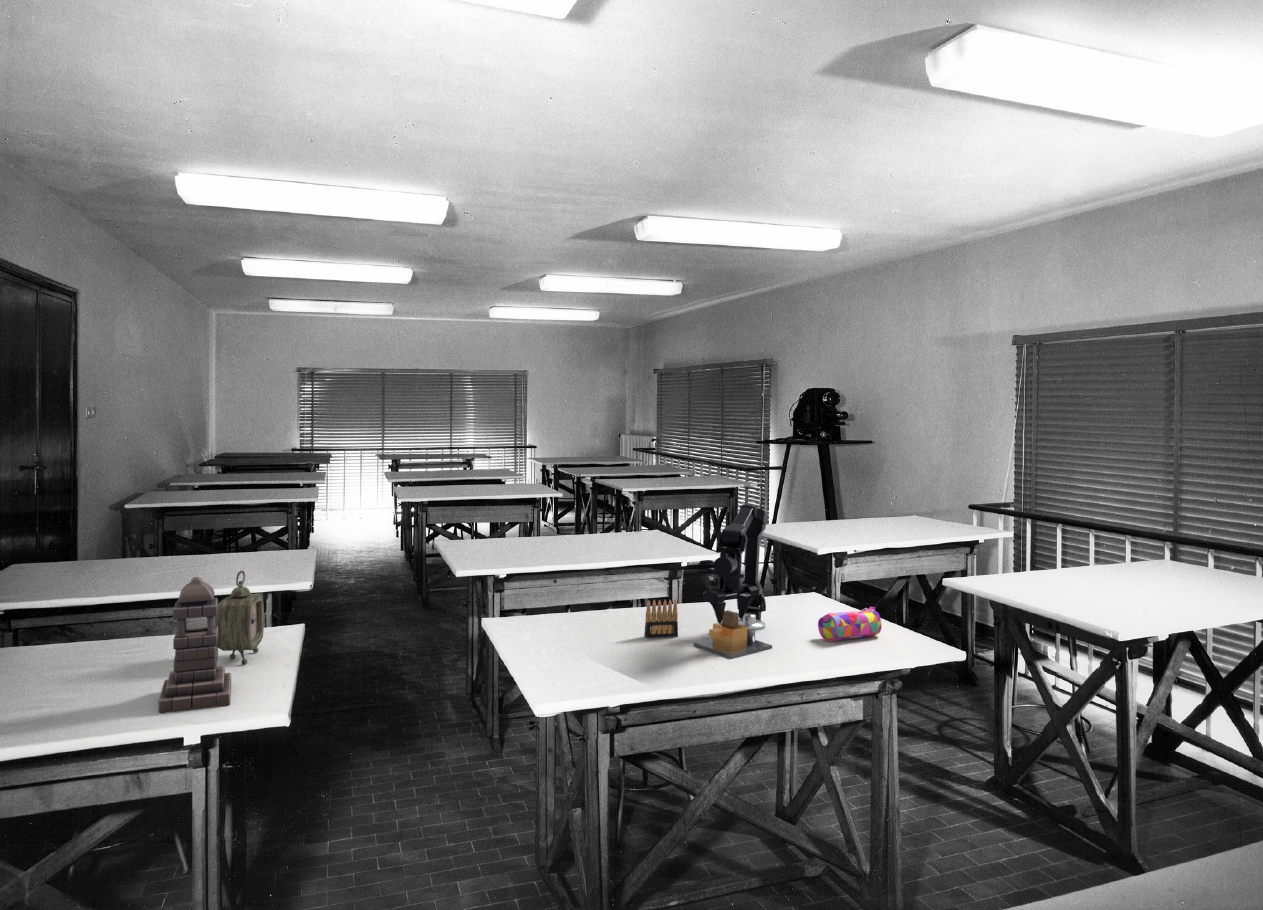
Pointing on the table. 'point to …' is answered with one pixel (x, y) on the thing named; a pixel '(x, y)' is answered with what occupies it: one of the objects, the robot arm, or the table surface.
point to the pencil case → (849, 624)
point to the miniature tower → (195, 655)
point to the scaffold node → (735, 638)
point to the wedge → (730, 619)
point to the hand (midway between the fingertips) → (730, 620)
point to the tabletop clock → (240, 621)
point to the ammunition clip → (661, 620)
